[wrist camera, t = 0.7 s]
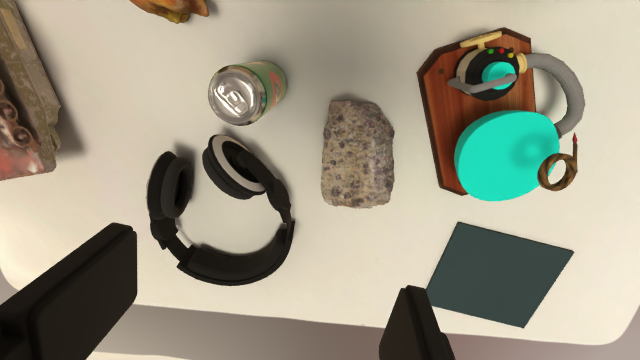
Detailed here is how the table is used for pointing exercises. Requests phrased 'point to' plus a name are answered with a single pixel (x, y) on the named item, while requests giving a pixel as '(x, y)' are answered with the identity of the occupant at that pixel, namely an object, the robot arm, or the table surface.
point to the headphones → (235, 180)
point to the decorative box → (24, 103)
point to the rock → (357, 156)
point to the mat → (495, 275)
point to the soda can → (246, 91)
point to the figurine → (173, 8)
